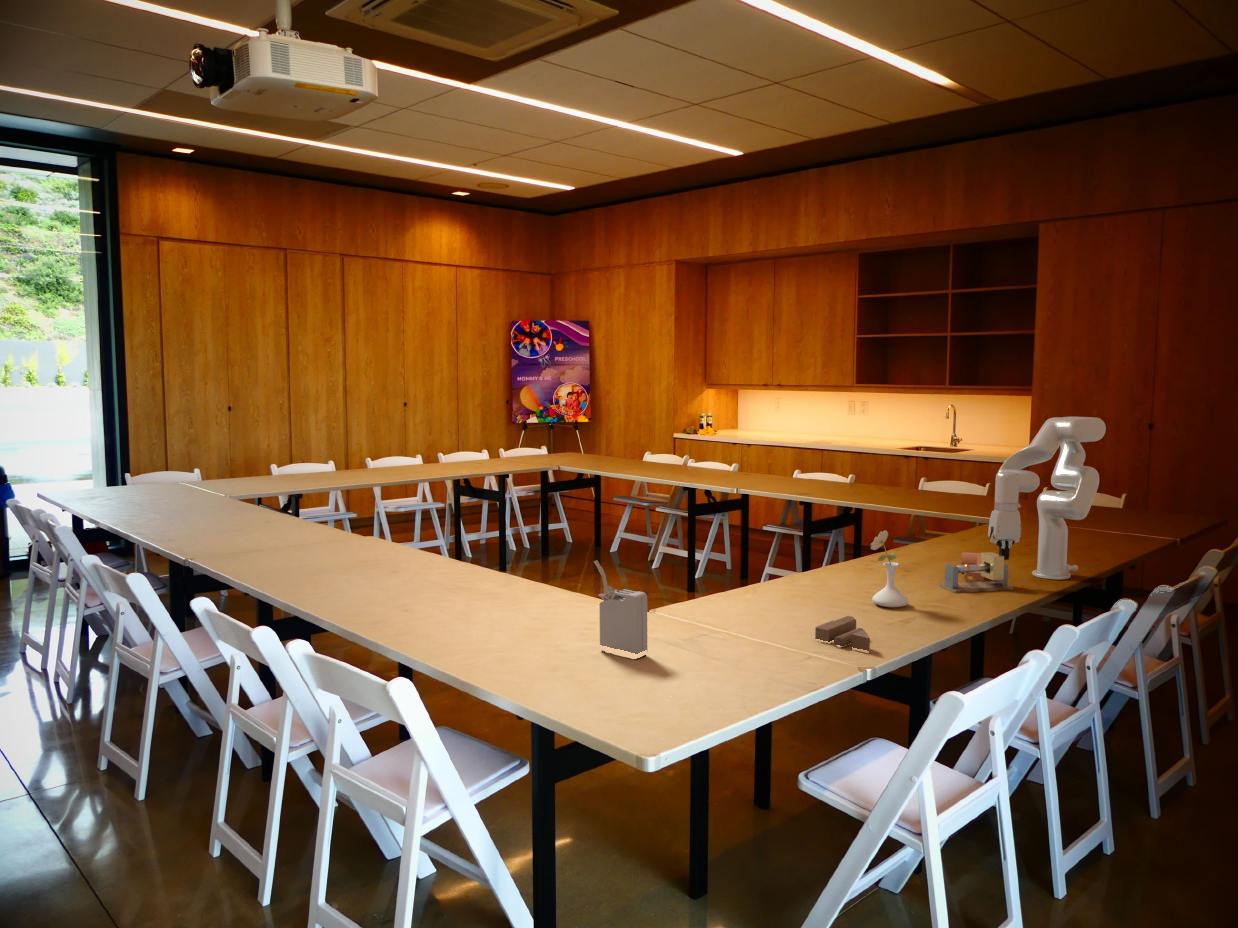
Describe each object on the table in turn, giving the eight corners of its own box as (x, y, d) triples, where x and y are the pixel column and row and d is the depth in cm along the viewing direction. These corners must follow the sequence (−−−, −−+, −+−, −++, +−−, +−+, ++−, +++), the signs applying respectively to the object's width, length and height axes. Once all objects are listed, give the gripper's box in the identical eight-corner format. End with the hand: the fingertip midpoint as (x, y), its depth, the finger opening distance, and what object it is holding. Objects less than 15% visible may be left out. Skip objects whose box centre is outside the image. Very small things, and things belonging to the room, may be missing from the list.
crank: (961, 570, 332) (962, 550, 332) (984, 572, 329) (984, 551, 328) (959, 582, 314) (960, 560, 313) (983, 584, 311) (984, 562, 310)
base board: (995, 582, 312) (995, 580, 312) (1013, 589, 302) (1013, 587, 302) (939, 586, 308) (939, 583, 308) (955, 593, 298) (955, 590, 298)
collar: (990, 574, 310) (991, 552, 309) (1003, 579, 302) (1004, 556, 302) (980, 575, 309) (981, 552, 308) (992, 580, 302) (993, 556, 301)
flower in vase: (893, 599, 290) (895, 525, 288) (916, 607, 280) (918, 531, 277) (860, 603, 286) (862, 528, 283) (882, 612, 275) (884, 534, 272)
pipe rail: (998, 584, 309) (999, 561, 308) (1007, 587, 304) (1008, 564, 303) (944, 587, 305) (945, 563, 305) (952, 591, 300) (953, 566, 300)
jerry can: (592, 649, 240) (591, 560, 237) (603, 645, 244) (602, 557, 241) (636, 661, 230) (635, 568, 228) (647, 656, 234) (647, 564, 232)
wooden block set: (813, 623, 245) (846, 611, 258) (812, 643, 246) (846, 629, 258) (867, 635, 233) (900, 622, 246) (867, 656, 234) (899, 641, 247)
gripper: (1018, 505, 309) (1016, 556, 311) (980, 506, 306) (978, 557, 308) (1032, 508, 302) (1029, 560, 303) (993, 509, 299) (991, 562, 301)
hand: (1003, 559), depth 306 cm, fingers closed
